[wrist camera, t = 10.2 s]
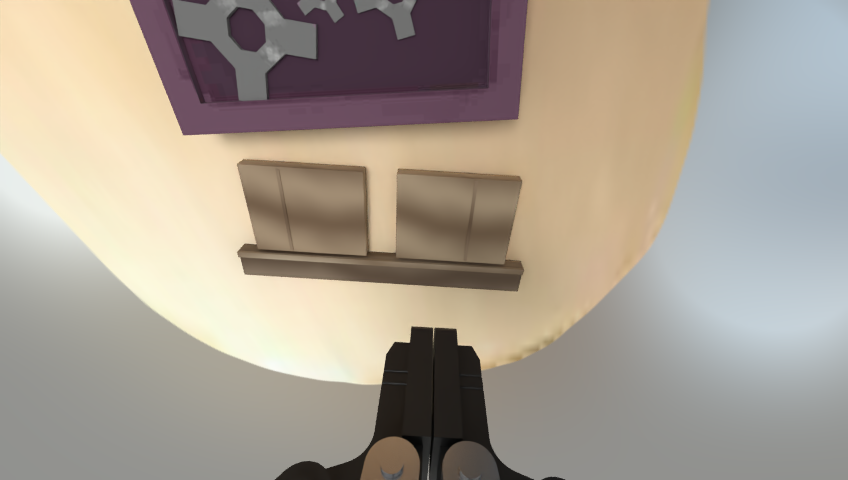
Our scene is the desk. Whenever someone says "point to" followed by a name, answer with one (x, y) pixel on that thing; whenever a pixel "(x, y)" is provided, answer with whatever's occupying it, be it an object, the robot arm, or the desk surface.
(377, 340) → the desk surface
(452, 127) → the desk surface
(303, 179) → the plank
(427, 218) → the plank
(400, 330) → the desk surface
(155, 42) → the purple gear tray
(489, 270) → the strip
